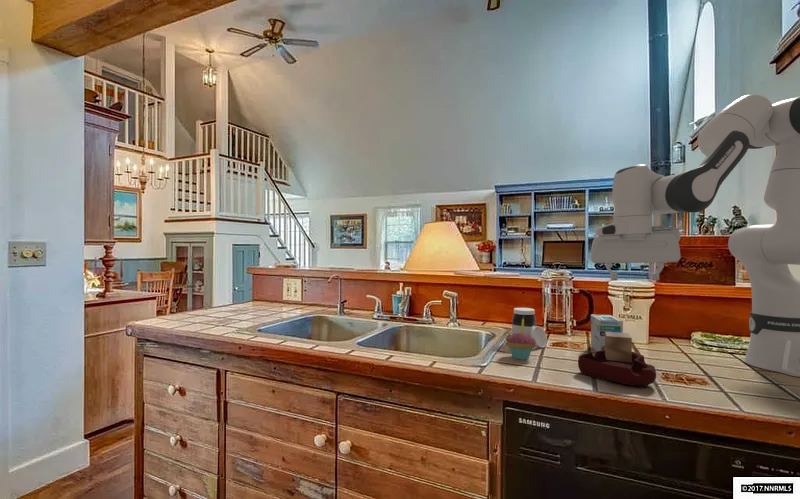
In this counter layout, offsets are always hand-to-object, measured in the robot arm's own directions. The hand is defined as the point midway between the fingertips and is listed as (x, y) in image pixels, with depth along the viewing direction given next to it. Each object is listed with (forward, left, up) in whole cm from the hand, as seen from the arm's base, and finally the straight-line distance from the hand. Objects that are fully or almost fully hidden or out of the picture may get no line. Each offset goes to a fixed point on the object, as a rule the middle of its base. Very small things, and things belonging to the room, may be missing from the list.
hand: (634, 280), depth 104 cm
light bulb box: (+5, -20, -25) cm, 32 cm away
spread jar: (+28, -20, -25) cm, 42 cm away
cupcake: (+29, -3, -24) cm, 38 cm away
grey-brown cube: (+4, +5, -20) cm, 21 cm away
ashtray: (+5, +6, -25) cm, 26 cm away
